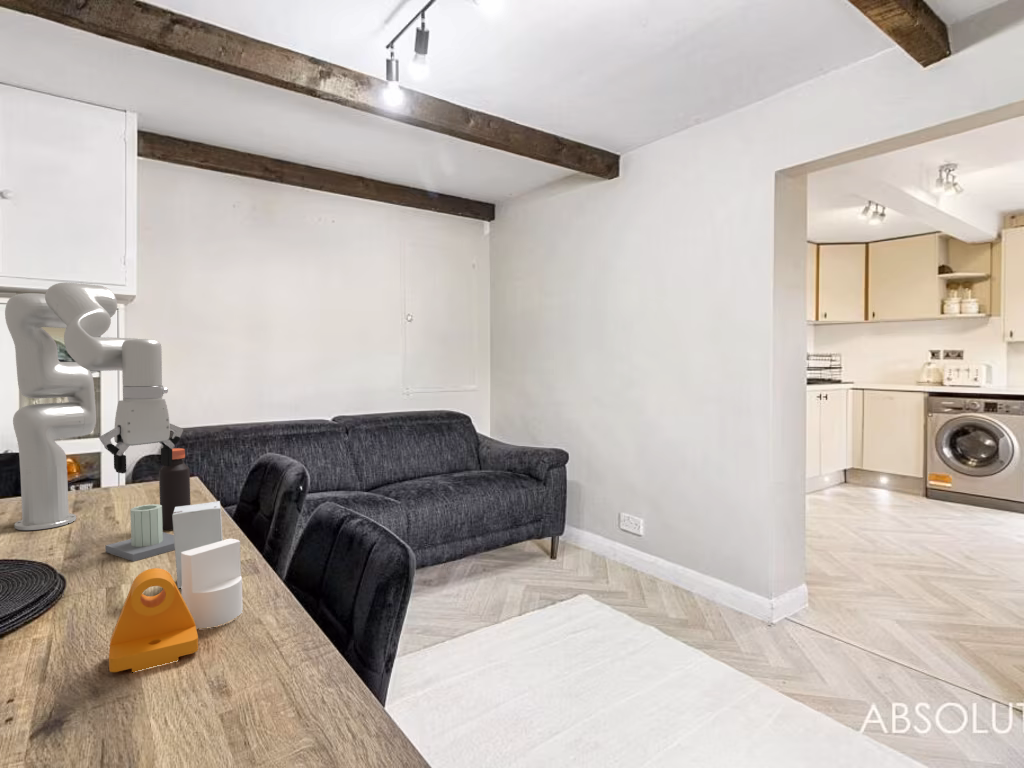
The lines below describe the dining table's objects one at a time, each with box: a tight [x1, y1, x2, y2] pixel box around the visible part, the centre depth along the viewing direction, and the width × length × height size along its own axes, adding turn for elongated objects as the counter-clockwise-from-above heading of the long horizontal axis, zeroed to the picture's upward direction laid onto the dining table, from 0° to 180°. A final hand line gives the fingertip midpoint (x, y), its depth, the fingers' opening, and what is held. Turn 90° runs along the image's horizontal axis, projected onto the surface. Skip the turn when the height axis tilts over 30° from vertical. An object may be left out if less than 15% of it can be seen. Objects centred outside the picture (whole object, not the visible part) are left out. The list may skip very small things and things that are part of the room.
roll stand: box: [104, 531, 175, 562], centre depth 132 cm, size 12×12×8 cm
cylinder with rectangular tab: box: [180, 538, 244, 628], centre depth 97 cm, size 9×9×12 cm
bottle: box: [158, 447, 192, 531], centre depth 149 cm, size 7×7×20 cm
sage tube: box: [129, 503, 164, 547], centre depth 132 cm, size 6×6×8 cm
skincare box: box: [172, 500, 224, 590], centre depth 112 cm, size 8×6×15 cm
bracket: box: [108, 567, 199, 673], centre depth 84 cm, size 11×7×12 cm, turn 123°
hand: (144, 468), depth 131 cm, fingers open, 9 cm apart
